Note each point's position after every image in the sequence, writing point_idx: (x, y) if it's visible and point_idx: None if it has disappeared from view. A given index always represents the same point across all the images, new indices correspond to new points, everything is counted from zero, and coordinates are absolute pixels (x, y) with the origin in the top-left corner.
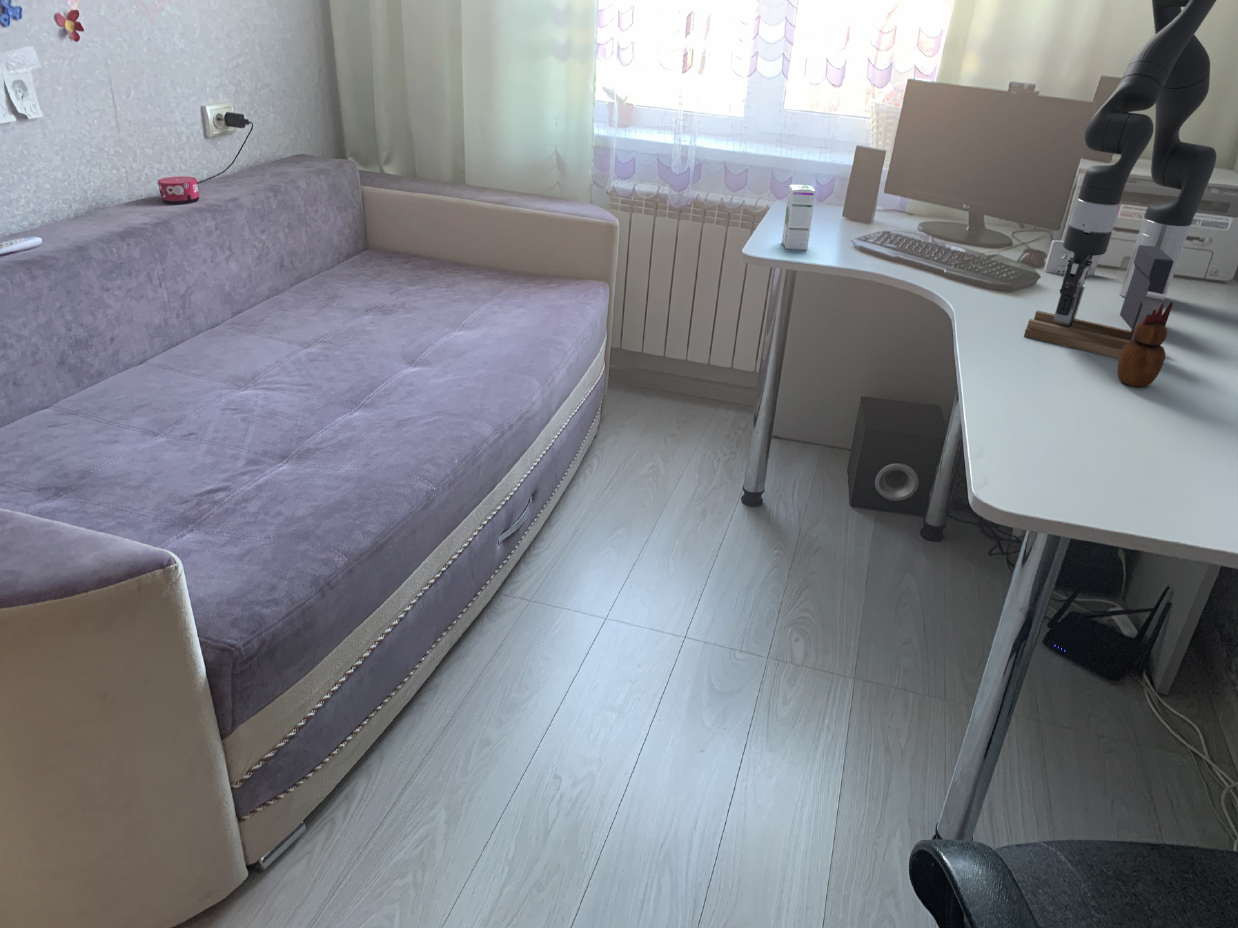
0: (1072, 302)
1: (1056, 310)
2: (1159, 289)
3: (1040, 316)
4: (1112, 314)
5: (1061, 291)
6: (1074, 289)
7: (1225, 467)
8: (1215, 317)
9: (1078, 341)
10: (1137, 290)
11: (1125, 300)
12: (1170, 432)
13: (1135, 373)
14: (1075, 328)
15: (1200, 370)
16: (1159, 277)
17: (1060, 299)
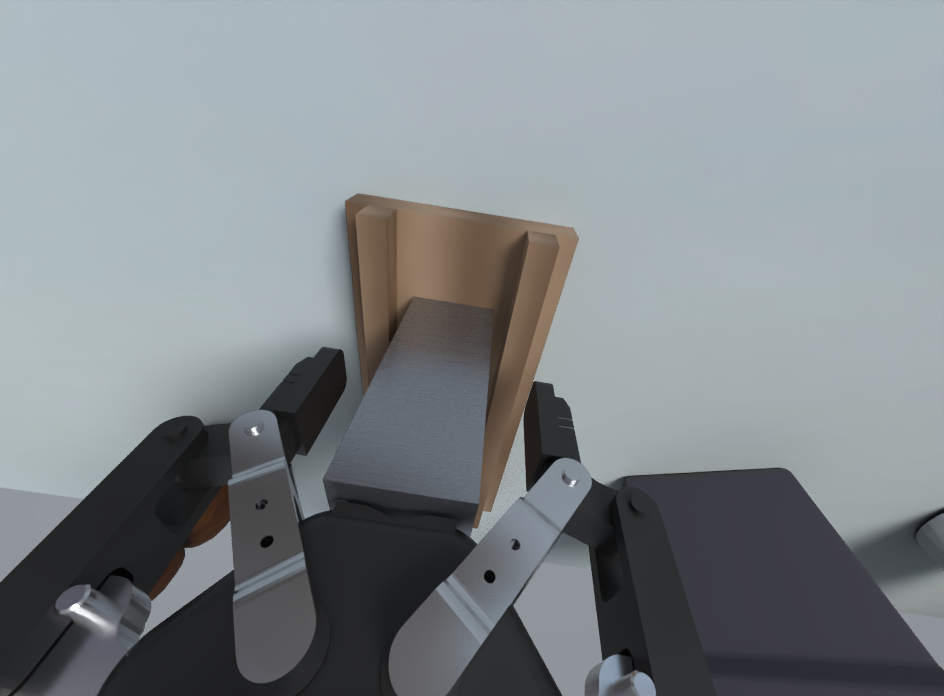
0: (319, 430)
1: (390, 344)
2: None
3: (522, 261)
4: (787, 453)
5: (158, 433)
6: (165, 499)
7: (35, 490)
8: None
9: (361, 372)
10: (754, 581)
11: (808, 514)
12: (66, 459)
13: None
14: (491, 370)
15: None
16: None
17: (289, 392)
